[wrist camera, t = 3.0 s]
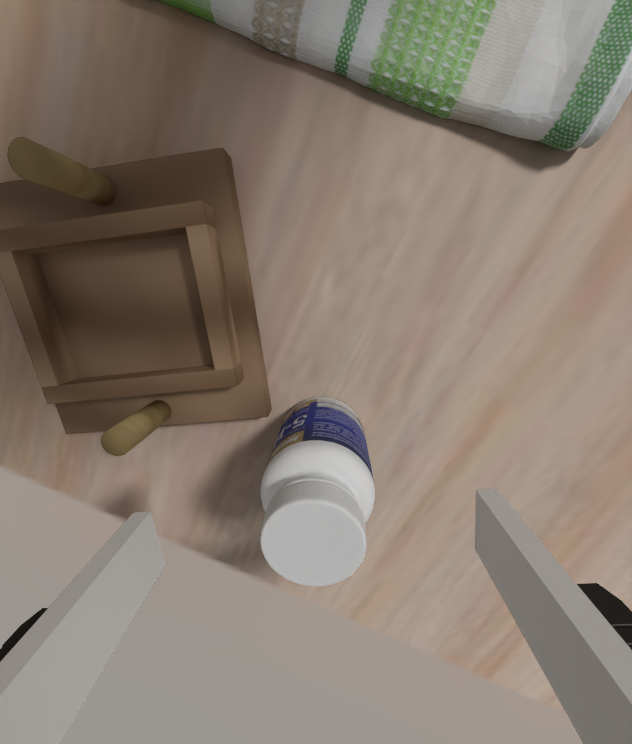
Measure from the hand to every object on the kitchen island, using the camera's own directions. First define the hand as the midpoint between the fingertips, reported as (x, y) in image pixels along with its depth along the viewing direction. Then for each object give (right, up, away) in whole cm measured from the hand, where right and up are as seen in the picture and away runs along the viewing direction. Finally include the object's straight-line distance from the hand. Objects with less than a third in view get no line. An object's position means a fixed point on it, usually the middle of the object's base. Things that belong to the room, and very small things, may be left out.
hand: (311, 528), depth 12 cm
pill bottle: (+1, +2, +8) cm, 8 cm away
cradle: (-10, +10, +6) cm, 15 cm away
